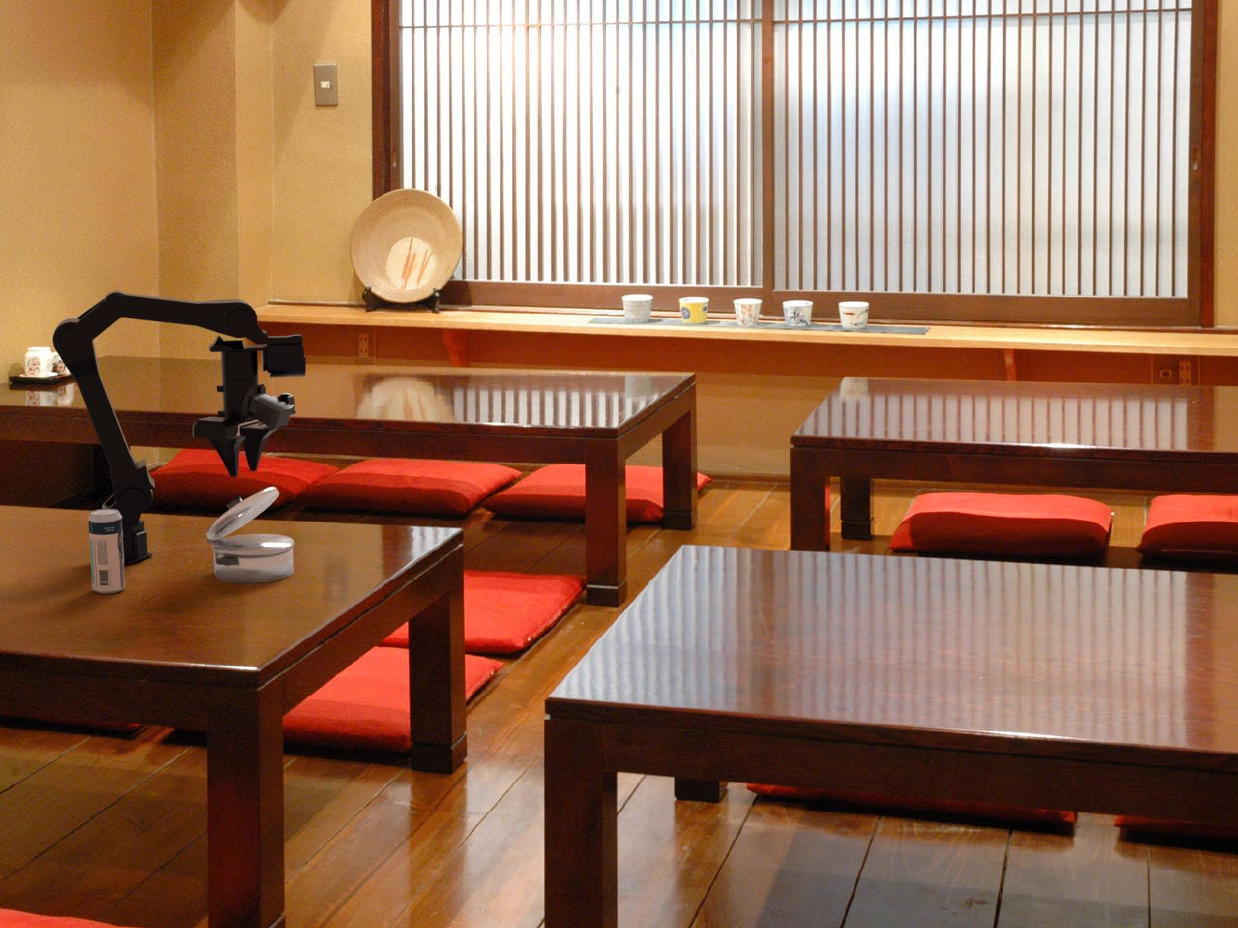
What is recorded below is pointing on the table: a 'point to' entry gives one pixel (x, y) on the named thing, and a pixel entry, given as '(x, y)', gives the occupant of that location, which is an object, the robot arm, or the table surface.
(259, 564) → the cooker pot
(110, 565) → the beer can
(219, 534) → the cooker lid
